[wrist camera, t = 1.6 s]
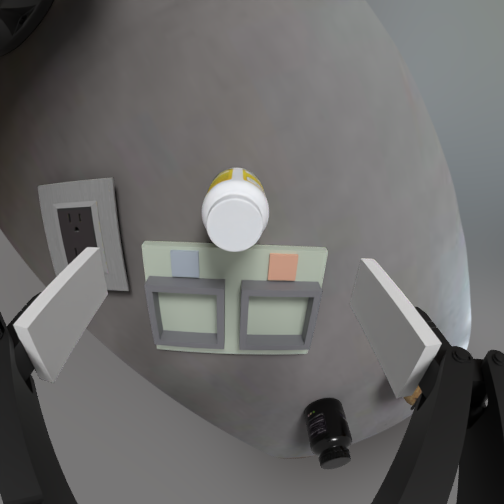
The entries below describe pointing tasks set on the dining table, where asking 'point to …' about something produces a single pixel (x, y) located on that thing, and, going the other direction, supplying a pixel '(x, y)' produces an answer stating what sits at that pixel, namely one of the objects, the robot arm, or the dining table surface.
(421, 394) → the robot arm
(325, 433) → the supplement bottle
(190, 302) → the tag board
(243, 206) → the supplement bottle
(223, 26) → the dining table surface
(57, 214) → the electrical outlet
